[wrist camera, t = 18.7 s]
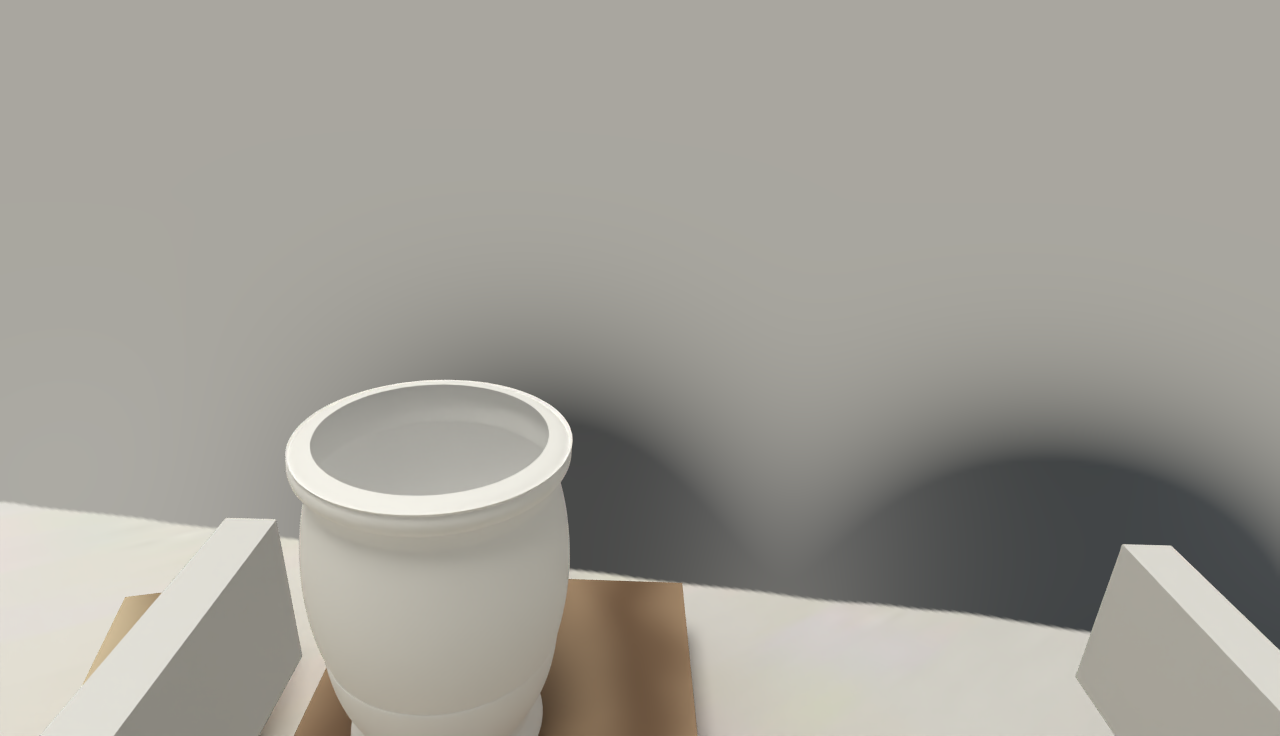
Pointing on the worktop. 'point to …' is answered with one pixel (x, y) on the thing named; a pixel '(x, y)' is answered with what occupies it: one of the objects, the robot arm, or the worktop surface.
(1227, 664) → the robot arm
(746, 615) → the worktop surface
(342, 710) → the walnut slab
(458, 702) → the jar
